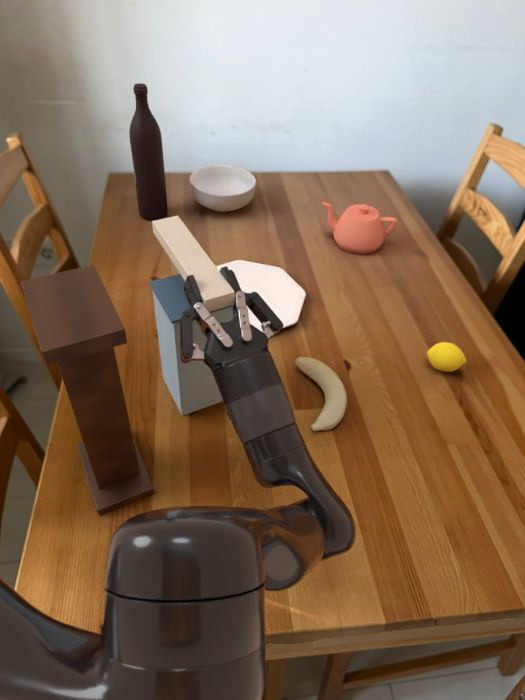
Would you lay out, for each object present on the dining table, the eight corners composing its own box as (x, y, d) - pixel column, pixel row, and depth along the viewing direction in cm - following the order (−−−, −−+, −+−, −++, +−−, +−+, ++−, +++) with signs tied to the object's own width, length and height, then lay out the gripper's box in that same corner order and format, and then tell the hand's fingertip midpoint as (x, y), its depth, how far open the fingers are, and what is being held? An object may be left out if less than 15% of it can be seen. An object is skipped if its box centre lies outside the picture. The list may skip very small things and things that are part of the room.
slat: (205, 313, 63) (204, 300, 62) (153, 233, 76) (151, 221, 74) (235, 304, 65) (235, 291, 63) (178, 227, 77) (177, 215, 76)
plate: (220, 355, 94) (220, 350, 93) (169, 285, 108) (168, 279, 107) (325, 317, 103) (326, 311, 102) (265, 256, 117) (265, 251, 116)
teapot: (389, 261, 119) (399, 225, 112) (313, 248, 121) (318, 212, 114) (391, 234, 127) (401, 199, 121) (320, 222, 129) (325, 187, 123)
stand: (99, 515, 71) (41, 352, 48) (78, 449, 78) (20, 281, 56) (154, 493, 74) (124, 329, 51) (130, 431, 81) (94, 264, 59)
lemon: (421, 372, 94) (430, 351, 90) (423, 353, 98) (431, 332, 94) (461, 382, 93) (471, 361, 89) (461, 361, 96) (471, 341, 93)
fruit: (331, 363, 94) (334, 350, 92) (354, 429, 84) (357, 416, 81) (293, 366, 93) (295, 353, 91) (311, 433, 83) (313, 420, 80)
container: (180, 417, 84) (171, 321, 69) (161, 378, 89) (148, 281, 75) (234, 398, 87) (236, 303, 72) (211, 361, 93) (209, 266, 78)
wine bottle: (161, 204, 132) (148, 78, 111) (172, 217, 128) (162, 88, 107) (135, 210, 129) (117, 82, 108) (146, 223, 125) (130, 93, 104)
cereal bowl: (261, 218, 129) (262, 192, 124) (195, 223, 126) (194, 197, 121) (247, 186, 141) (248, 162, 136) (186, 190, 138) (185, 165, 133)
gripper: (317, 372, 61) (263, 247, 64) (206, 412, 56) (154, 273, 59) (296, 387, 68) (248, 273, 71) (196, 423, 63) (149, 299, 66)
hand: (206, 274), depth 65 cm, fingers closed on slat, 4 cm apart
